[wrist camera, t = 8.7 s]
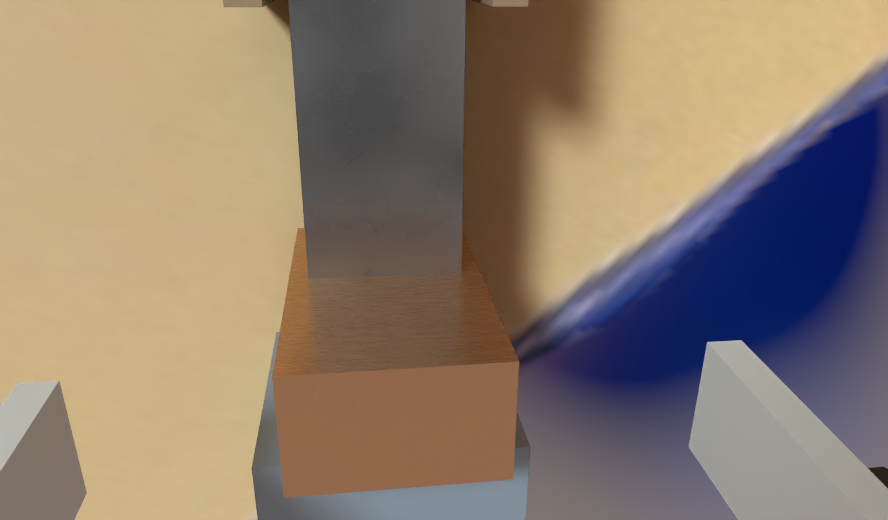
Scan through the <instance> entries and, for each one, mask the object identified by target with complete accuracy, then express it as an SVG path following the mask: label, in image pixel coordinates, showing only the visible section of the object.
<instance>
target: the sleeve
mask: <svg viewBox="0 0 888 520" xmlns="http://www.w3.org/2000/svg"><path fill="white" fill-rule="evenodd" d="M272 1H274V0H223V4H224V7H263V6H265V5H267V4H269V3H271V2H272ZM473 1H476V2H479V3H483V4H486V5H489V6H492V7H528V0H473Z"/></svg>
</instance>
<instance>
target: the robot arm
mask: <svg viewBox="0 0 888 520" xmlns="http://www.w3.org/2000/svg"><path fill="white" fill-rule="evenodd" d="M689 448H690V450H691V451H692V453H693V454H694V455H695V457H696V459H697V460H698V462H699V463H700V464H701V466H702V467H703V469H704V470H705V472H706V473H707V475H708V476H709V478H710V479H711V481H712V482H713V484H714V485H715V486H716V488H717V490H718V491H719V493H720V494H721V495H722V497H723V498H724V500H725V501H726V503H727V504H728V506H729V507H730V509H731V510H732V512H733V513H734V515H735V516H736V517H737V519H738V520H888V469H887V468H885V467H877V468H867V467H866V466H865V465H864V464H863V463H862V462H861V461H860V460H859V459H858V458H857V457H856V456H855V455H854V454H853V453H852V452H851V451H850V450H849V449H848V448H847V447H846V446H845V445H844V444H843V443H842V442H841V441H840V440H839V439H838V438H837V437H836V436H835V435H834V434H833V433H832V432H831V431H830V430H829V429H828V428H827V427H826V426H825V425H824V424H823V423H822V422H821V421H820V420H819V419H818V417H816V415H814V413H812V411H811V410H810V409H809V408H808V407H807V406H806V405H805V404H804V403H803V402H802V401H801V400H800V399H799V398H798V397H797V396H796V395H794V393H793V392H792V391H791V390H790V389H789V388H788V387H787V386H786V385H785V384H784V383H783V382H782V381H781V380H780V379H779V378H778V377H777V376H776V375H775V374H774V373H773V372H772V371H771V370H770V369H769V368H768V367H767V366H766V365H765V364H764V363H763V362H762V361H761V360H760V359H759V358H758V357H757V356H756V355H755V354H754V353H753V352H752V351H751V350H750V349H749V348H748V347H747V346H746V345H745V344H744V343H743V342H742V341H741V340H738V341H721V342H707V347H706V352H705V358H704V364H703V370H702V375H701V381H700V386H699V392H698V398H697V403H696V409H695V414H694V420H693V425H692V431H691V437H690V442H689ZM86 493H87V492H86V488H85V484H84V480H83V476H82V472H81V468H80V464H79V460H78V456H77V451H76V447H75V443H74V439H73V435H72V431H71V427H70V423H69V419H68V415H67V410H66V406H65V402H64V398H63V394H62V390H61V386H60V382H59V381H42V382H25V383H17V384H16V385H15V386H14V388H13V389H12V390H11V392H10V393H9V394H8V396H7V397H6V398H5V400H4V401H3V403H2V404H1V405H0V520H74V519H75V517H76V515H77V513H78V510H79V508H80V506H81V504H82V502H83V500H84V498H85V495H86Z"/></svg>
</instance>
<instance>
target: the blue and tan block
mask: <svg viewBox="0 0 888 520" xmlns="http://www.w3.org/2000/svg"><path fill="white" fill-rule="evenodd" d="M288 6H289V19H290V33H291V47H292V61H293V74H294V88H295V102H296V116H297V129H298V143H299V157H300V171H301V185H302V198H303V212H304V226H305V228H298V230H297V236H296V242H295V248H294V253H293V259H292V265H291V271H290V276H289V282H288V288H287V293H286V299H285V305H284V311H283V316H282V322H281V328H280V333H279V339H278V345H277V351H276V356H275V362H274V368H273V374H272V382H273V392H274V403H275V413H276V423H277V433H278V443H279V453H280V463H281V473H282V483H283V493H284V498H288V497H300V496H313V495H325V494H338V493H350V492H362V491H375V490H387V489H399V488H412V487H424V486H436V485H449V484H461V483H474V482H486V481H498V480H511V479H513V475H514V455H515V436H516V416H517V395H518V377H519V360H518V357H517V355H516V353H515V351H514V348H513V346H512V344H511V341H510V339H509V337H508V335H507V332H506V330H505V328H504V325H503V323H502V321H501V319H500V316H499V314H498V312H497V309H496V307H495V305H494V302H493V300H492V298H491V296H490V293H489V291H488V289H487V286H486V284H485V282H484V280H483V277H482V275H481V273H480V270H479V268H478V266H477V264H476V261H475V259H474V257H473V254H472V252H471V250H470V248H469V245H468V243H467V241H466V238H465V236H464V234H463V231H462V210H463V145H464V81H465V16H466V0H288Z"/></svg>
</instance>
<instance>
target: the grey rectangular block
mask: <svg viewBox="0 0 888 520" xmlns="http://www.w3.org/2000/svg"><path fill="white" fill-rule="evenodd" d="M279 333H280V332H277V333H276V339H275V344H274V349H273V355H272V360H271V366H270V371H269V377H268V382H267V388H266V393H265V399H264V404H263V410H262V415H261V421H260V426H259V431H258V437H257V442H256V448H255V453H254V459H253V464H252V475H253V483H254V492H255V500H256V508H257V517H258V520H526V509H527V508H526V507H527V491H528V476H529V460H530V459H529V458H530V445H529V443H528V440H527V437H526V435H525V432H524V430H523V427H522V424H521V422H520V419H519V416H518V414H517V416H516V436H515V455H514V475H513V479H511V480H498V481H486V482H474V483H461V484H449V485H436V486H424V487H412V488H399V489H387V490H375V491H362V492H350V493H338V494H325V495H313V496H300V497H288V498H284V493H283V483H282V473H281V463H280V453H279V443H278V433H277V423H276V413H275V403H274V392H273V382H272V374H273V368H274V362H275V356H276V351H277V345H278V339H279Z"/></svg>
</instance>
